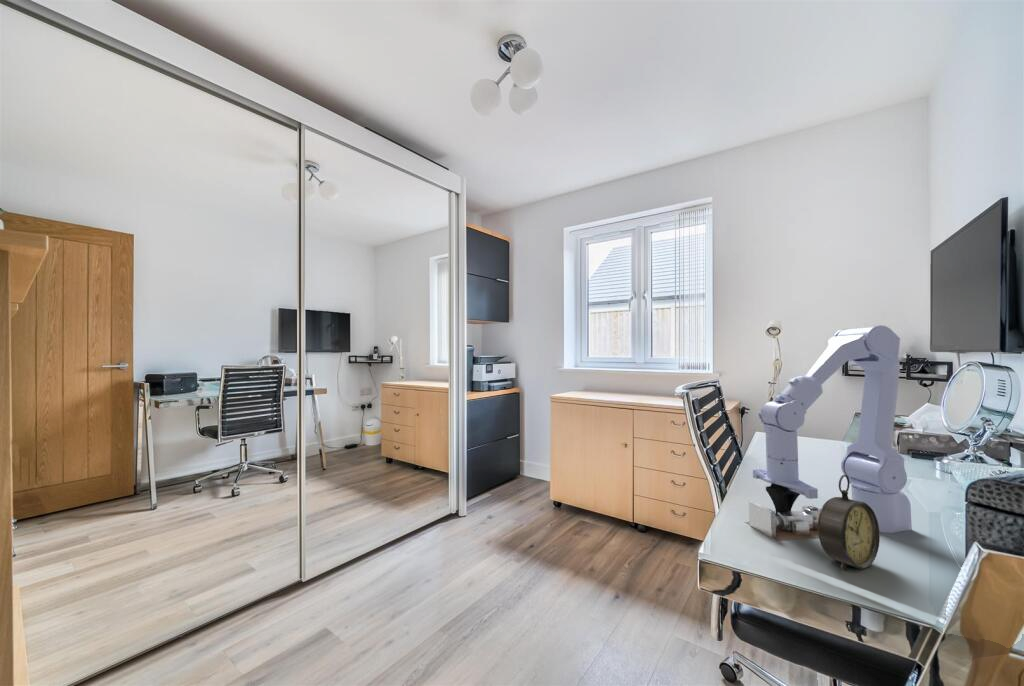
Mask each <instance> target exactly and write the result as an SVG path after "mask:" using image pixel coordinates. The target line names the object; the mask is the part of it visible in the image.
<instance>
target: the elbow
mask: <svg viewBox="0 0 1024 686" xmlns="http://www.w3.org/2000/svg"><path fill="white" fill-rule="evenodd" d="M821 509H822V508H819V507H816V506H814V505H813V506H812V505H803V506H802V508H801V510H795V511H794V510H793V511H792V510H791V511H790V512H778V513H777V514H779V515H780V517H781V518H782V520H783V528H782V529H780V530H792V522H797V521H806V522H808V523H809V529H815V530H818V518H819V514H820V511H821Z"/></svg>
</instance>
